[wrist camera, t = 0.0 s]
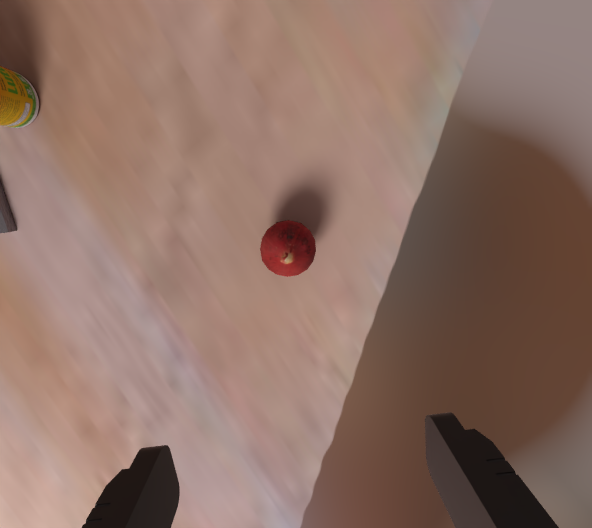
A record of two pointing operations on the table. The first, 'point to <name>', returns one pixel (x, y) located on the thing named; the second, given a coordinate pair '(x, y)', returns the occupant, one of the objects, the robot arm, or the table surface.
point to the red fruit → (288, 248)
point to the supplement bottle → (16, 100)
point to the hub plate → (5, 214)
